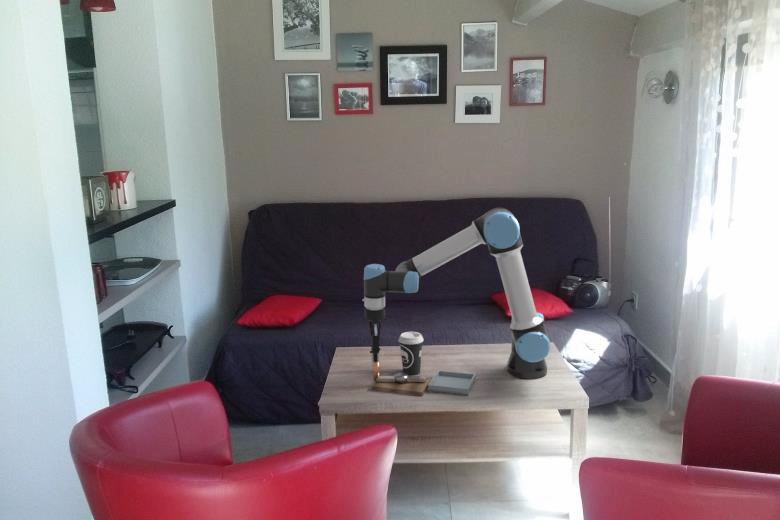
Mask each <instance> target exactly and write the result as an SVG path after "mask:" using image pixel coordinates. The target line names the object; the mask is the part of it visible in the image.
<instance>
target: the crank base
mask: <svg viewBox="0 0 780 520" xmlns="http://www.w3.org/2000/svg"><path fill="white" fill-rule="evenodd" d="M395 374H396V373H387V372H384V373H382V374H380V376H394V375H395ZM432 378H433V377H427V376H426V382H406V383H396V382H376V381H374V382H373V384H372V385H371V391H373V390H375V391H376V392H383V393H393V394H399V395H400V394H401V395H411V396H418V397H423V396H424V394H425V393H426V391H428V384H429V383H430V381H431V380H432ZM375 391H374V392H375Z"/></svg>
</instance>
